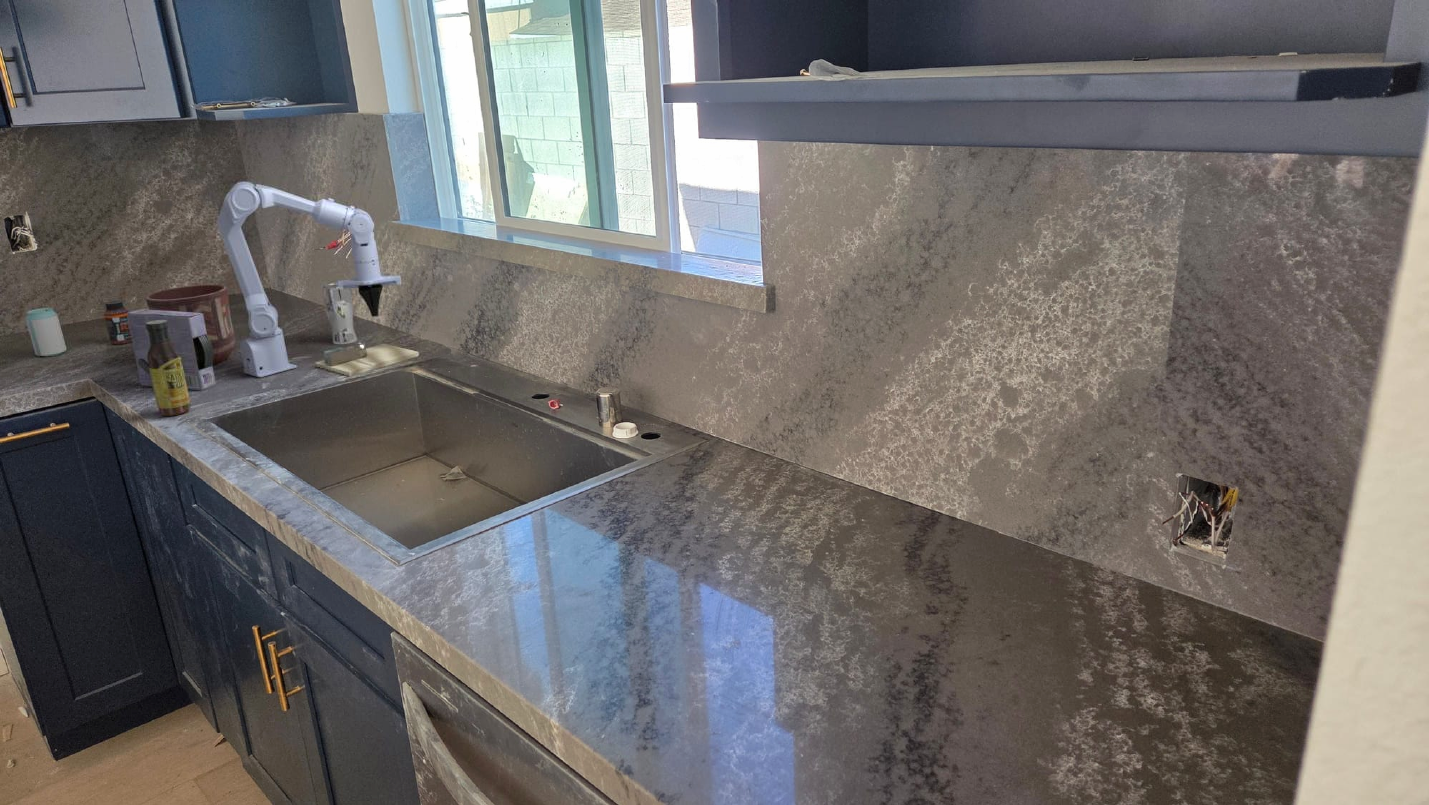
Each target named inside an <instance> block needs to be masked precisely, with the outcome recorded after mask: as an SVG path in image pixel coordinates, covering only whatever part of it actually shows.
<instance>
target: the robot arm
mask: <svg viewBox="0 0 1429 805" xmlns="http://www.w3.org/2000/svg"><path fill="white" fill-rule="evenodd" d="M260 204H261V207H262V209H266V208H270V207H275V206H277V207H282V208H284V209H288V210H292V211H296V212H300V213H303V214H306V215H310V216H312V218H313V220H314V221H315V222H316V223H318V224H321V225H324V226H327V227H331V228H334V229H337V230H341V231H346V230H348V231H349V234H350V240H351V241H350V247H351V253H352V260H353V266H354V271H355V278H350V279H340V280H338V281H337V283H338V288H339V290H343V289H356V288H357V289H358V293H359V295H360V297H361V298H362V299H363V301H364V302H365V304H366V305H367V308H368V309H369V312H370V315H371V317H373V318H374V317H379V310H380V309H379V308H380V306H379V305H380V300H381V294H382V292H383V289H384V288H383V287H384V286H393V285H395V286H399V285H400V286H401V284H402V279H401V278H402V277H401V275H382V274H381V267H380V262H379V260H380V259H379V253H378V248H377V242H376V240H375V232H373V231H374V229H375V223H374V221H373V219H372V217H371V216H370V214H369V213H368V212H366V211H365V210H363V209H361V208H355V206H353V205H349V206H347V205H343V204H341V203H338V202H335V200H334V199H333V198H330V197H328V198H327V199H325V198H322V199H320V200H317V201H313V200H310V199H307V198H304V197H301V196H299V195H295V194H292V193H290V192H287V191H283V190H282V189H278V188H275V187H271V186H267V185H262V184H258V183H256V184H254V183H252V182H250V181H239V182H237V183H235V184H234V185H233V186H232V187H231V188H230V190H229V191H228V193H227V194H226V196H225V197H224V200H223V204H222V206H221V209H220V212H219V215H218V219H217V222H216V226H217V229H218V231H219V234H220V237H221V239H222V242H223V245H224V248H225V251H226V253H227V256H228V258H229V261H230V264H231V266H232V269H233V272H234V274H235V277H236V280H237V282H238V285H239V288H240V291H241V293H242V296H243V299H244V302H245V307H246V310H247V313H248V321H247V322H248V323H247V326H248V327H249V331H250V332H249V337H247V338H245V339H242V340H241V341H240V344H239V345H240V346H239V348H240V354H241V358H242V363H243V367H244V370H243V373H245V374H248V375H250V376H253V377H257V378H264V377H266V376H271V375H274V374H278V373H281V372H284V371H289V370H293V369H296V368H297V364H292V363H289V357H288V353H287V348H286V347H287V346H286V343H285V342H286V341H285V338H284V332H283V329H282V328H280V327H279V326H278V324H279V323H278V319H279V313H278V310H277V309H276V307H274V305H272V304H271V302H270V301H269V298H268V296H267V294H266V291H265V289H264V286H263V283H262V281H261V278H260V275H259V273H258V270H257V267H256V264H255V262H254V260H253V257H252V254H251V251H250V249H249V246H248V242H247V240H246V238H245V234H244V232H243V230H242V226H243V225H244V224H245V221H246V219H247V218H248V216H250V215H252V213H254V212H255V211H256V210H257V209H258V208H259V205H260Z"/></svg>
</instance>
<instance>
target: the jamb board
mask: <svg viewBox="0 0 1429 805" xmlns="http://www.w3.org/2000/svg"><path fill="white" fill-rule="evenodd" d="M343 348H344V347H341V346H340V347H337V348H332V349H329V350H325V351H323V355H324V359H323V360H320V361H316V362H314V364H315V367H316V366H317V367H316V368H319V367H320V368H319V369H322V368H325V369H324V370H326V369H328V370H327V371H329V370H330V371H329V372H333V371H334V372H333V373H337V374H340V375H343V374H344V376H347V377H352V376H356V375H360V374H363V373H366V372H369V371H373V370H376V369H380V368H382V367H387V366H389V365H392V364H396V363H399V362H403V361H407V360H409V359H414V358H416V357H419V355H420V354H419V351H415V350H412V349H407V348H403V347H400V346H399V347H398V346H395V345H391V344H387V343H381V344H377V345H374V346H370V347H366V350H367V356H366V357H362V358H358V359H354V360H351V361H347V362H344V363H340V364H336V365H333V366H331V365H328V363H327V358H326V353H328V352H332V351H335V350H339V349H343Z"/></svg>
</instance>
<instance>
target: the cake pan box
mask: <svg viewBox="0 0 1429 805" xmlns="http://www.w3.org/2000/svg"><path fill="white" fill-rule="evenodd" d="M127 317H128V322H129V327H130V332H131V337H132V342H131V343H132V346H133V351H134V352H133V353H134V357H135V362H136V366H137V370H138V372H137V373H138V377H139V382H140V385H141V387H152V388H153V384H152V379H151V375H150V370H149V363H148V359H147V354H148V351H149V349H150V346H151V343H150V338H149V333H148V330H147V329H146V323H147V322H150V321H155V320H166V321H167V323H168V332H169V336H170V339H171V342H172V344H173V345H174V347H175V349H176V350H177V352H178V354H179V355H180V357H181V360H182V365H183V370H184V375H185V379H186V384H187V389H188V390H192V391H193V390H194V391H201V392H202V391H205V390H207V388H208V389H209V388H213V387H215V386H217V383H216V378H215V373H214V368H213V365H212V364H213V349H212V345H211V342H210V340H209V338H208V336H207V332H206V327H205V321H204V316H203V313H192V312H177V311H161V310H149V309H146V308H145V309H143V308H141V309H137V310H131V311H129V312H128V314H127Z"/></svg>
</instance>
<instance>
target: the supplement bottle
mask: <svg viewBox="0 0 1429 805" xmlns="http://www.w3.org/2000/svg"><path fill="white" fill-rule="evenodd" d="M104 304H105V305H104V306H105V308H106V309H105V311H104V312H103V316H104V317H103V318H104V322H105V325H106V330H107V333H108V334H107V335H108V337H109V341H110V344H112V345H124V344H125V345H126V344H129V343H133V342H132V337H131V332H130V327H129V322H128V317H127V314H128V312H130V311H129V309H128V308H126V307H125V306H124V304H123V301H122V300H110V301H107V302H105V303H104Z"/></svg>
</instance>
